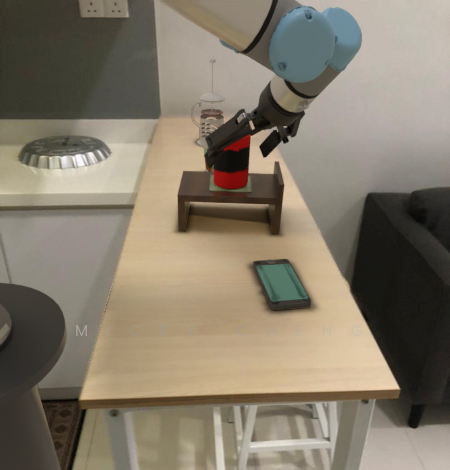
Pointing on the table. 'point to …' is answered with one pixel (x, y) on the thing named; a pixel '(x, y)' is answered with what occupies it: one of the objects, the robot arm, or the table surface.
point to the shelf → (232, 193)
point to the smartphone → (281, 284)
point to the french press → (209, 112)
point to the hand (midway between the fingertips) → (235, 156)
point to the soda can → (233, 165)
